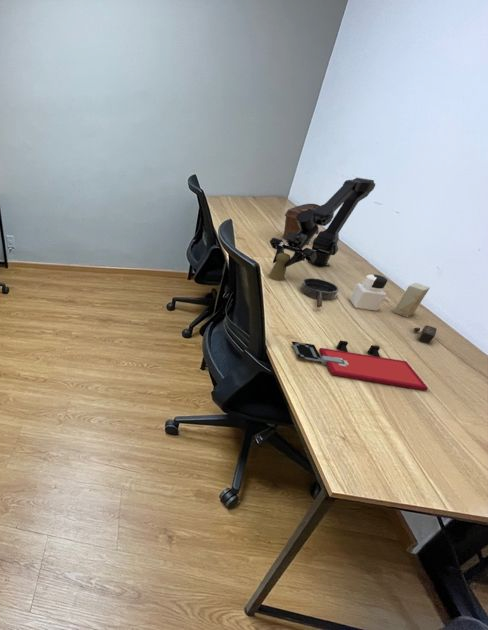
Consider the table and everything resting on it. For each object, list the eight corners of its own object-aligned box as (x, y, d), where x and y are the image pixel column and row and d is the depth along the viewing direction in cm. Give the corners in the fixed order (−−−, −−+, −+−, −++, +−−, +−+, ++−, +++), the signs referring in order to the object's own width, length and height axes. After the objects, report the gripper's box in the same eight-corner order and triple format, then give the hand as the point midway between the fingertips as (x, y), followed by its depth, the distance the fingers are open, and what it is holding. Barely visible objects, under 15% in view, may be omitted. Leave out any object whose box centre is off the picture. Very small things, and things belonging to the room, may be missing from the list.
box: (406, 317, 122) (423, 290, 116) (392, 312, 125) (408, 285, 119) (413, 313, 124) (430, 287, 118) (399, 308, 127) (415, 282, 121)
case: (279, 242, 186) (291, 209, 176) (276, 231, 202) (286, 200, 192) (317, 246, 180) (331, 213, 171) (310, 234, 196) (322, 203, 186)
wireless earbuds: (431, 335, 113) (437, 327, 111) (429, 344, 108) (434, 336, 107) (413, 329, 115) (418, 321, 114) (410, 338, 111) (415, 330, 110)
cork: (282, 281, 146) (290, 258, 140) (266, 277, 150) (274, 254, 144) (285, 276, 150) (294, 253, 144) (270, 273, 153) (278, 250, 147)
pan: (300, 283, 145) (303, 276, 143) (334, 290, 139) (338, 282, 137) (299, 295, 136) (302, 287, 134) (335, 303, 131) (339, 295, 129)
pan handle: (316, 294, 133) (318, 290, 132) (321, 295, 132) (322, 291, 131) (315, 307, 124) (317, 303, 124) (320, 308, 124) (322, 304, 123)
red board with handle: (288, 340, 110) (301, 370, 98) (291, 333, 109) (305, 363, 97) (397, 356, 104) (425, 391, 92) (402, 349, 102) (431, 384, 90)
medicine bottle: (370, 301, 131) (385, 273, 125) (377, 311, 126) (394, 282, 119) (348, 299, 133) (362, 271, 127) (354, 308, 128) (370, 279, 121)
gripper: (279, 218, 146) (254, 247, 148) (323, 231, 132) (296, 263, 134) (285, 233, 153) (261, 260, 155) (327, 246, 139) (301, 276, 141)
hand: (278, 264), depth 146 cm, fingers closed on cork, 5 cm apart
